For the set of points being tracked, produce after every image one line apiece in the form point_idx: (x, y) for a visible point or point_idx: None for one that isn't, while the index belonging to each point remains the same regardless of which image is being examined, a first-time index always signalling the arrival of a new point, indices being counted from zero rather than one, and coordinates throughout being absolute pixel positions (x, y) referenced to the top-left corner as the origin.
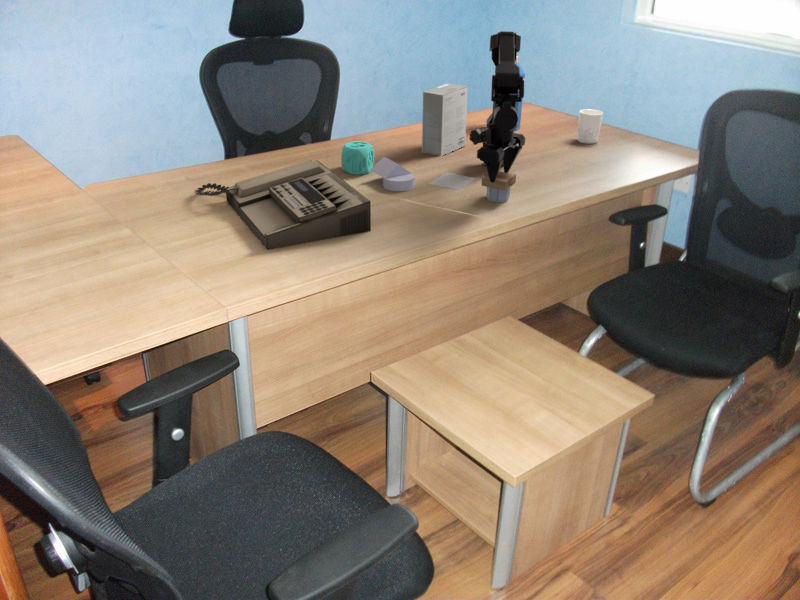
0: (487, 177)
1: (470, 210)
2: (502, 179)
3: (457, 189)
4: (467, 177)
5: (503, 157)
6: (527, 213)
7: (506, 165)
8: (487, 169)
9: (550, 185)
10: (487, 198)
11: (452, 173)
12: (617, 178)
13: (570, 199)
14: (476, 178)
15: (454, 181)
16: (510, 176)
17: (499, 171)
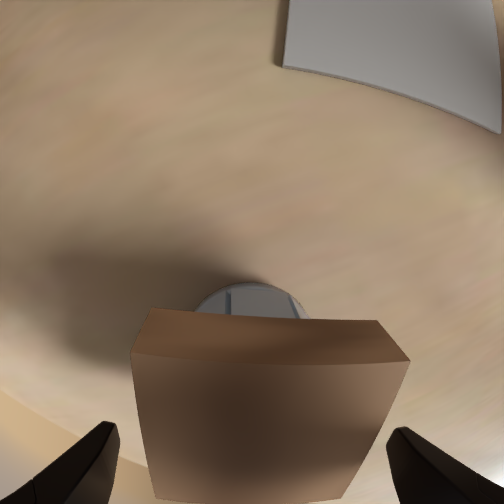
0: (153, 399)
1: (26, 260)
2: (186, 483)
3: (290, 55)
4: (491, 83)
5: (466, 500)
6: None
7: (414, 478)
8: (23, 488)
9: (470, 419)
10: (210, 298)
11: (492, 11)
12: (497, 471)
13: (355, 499)
14: (497, 132)
15: (414, 18)
16: (283, 496)
17: (383, 418)
